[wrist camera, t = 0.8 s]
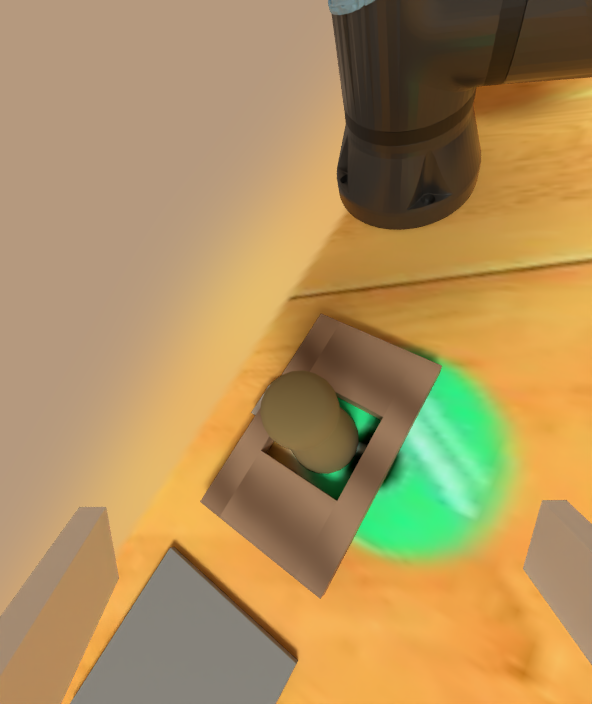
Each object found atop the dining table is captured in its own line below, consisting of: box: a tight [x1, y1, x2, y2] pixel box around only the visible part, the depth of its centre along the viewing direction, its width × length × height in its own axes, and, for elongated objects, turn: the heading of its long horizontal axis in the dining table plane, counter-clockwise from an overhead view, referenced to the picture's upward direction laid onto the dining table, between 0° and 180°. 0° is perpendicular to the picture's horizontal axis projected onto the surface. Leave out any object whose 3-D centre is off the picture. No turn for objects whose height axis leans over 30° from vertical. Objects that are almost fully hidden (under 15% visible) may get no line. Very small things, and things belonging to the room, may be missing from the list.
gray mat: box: [70, 547, 298, 704], centre depth 27 cm, size 13×13×1 cm
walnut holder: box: [200, 314, 442, 598], centre depth 32 cm, size 20×13×2 cm, turn 147°
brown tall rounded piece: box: [260, 370, 358, 473], centre depth 27 cm, size 6×6×11 cm
